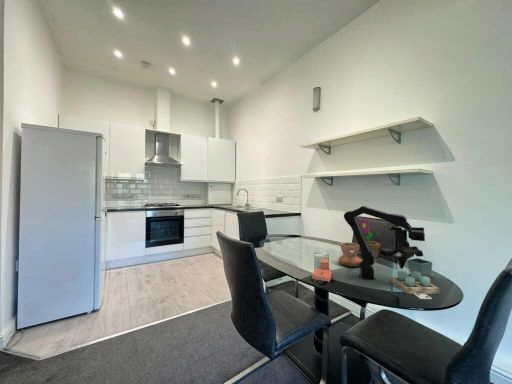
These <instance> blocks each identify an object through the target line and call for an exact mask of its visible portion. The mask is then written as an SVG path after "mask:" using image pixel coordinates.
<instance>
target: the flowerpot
mask: <svg viewBox="0 0 512 384" xmlns="http://www.w3.org/2000/svg"><path fill="white" fill-rule="evenodd" d="M369 222H370V221H369V219H365V217H364V216H363V217H361V221H358V225H359V226H361V227H360V229H361V231H364V234H365V235H367V234H368V236H365V239H367V240H366V243H367V245H368V247H369V248H370V249H371V250H374V252H375V254H376V256H377V258H378V257H379V248H381V242H380V243H379V242H377V241H374V240H373V241H372V240H371V238H373V234H372V232H370V230H371V226H369V225H368V224H369Z"/></svg>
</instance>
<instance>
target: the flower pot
mask: <svg viewBox="0 0 512 384" xmlns="http://www.w3.org/2000/svg"><path fill="white" fill-rule="evenodd" d="M406 264H407V269H408V271H409V272H410V273H411V272H412V271H416V272H420V273H421V276H426V277H429V275H430V274H431V272H432V269H433V262H432V261H431V260H430V261H428V260H426V259H422V258H419V257H415V258H409V259H407V261H406Z"/></svg>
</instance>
